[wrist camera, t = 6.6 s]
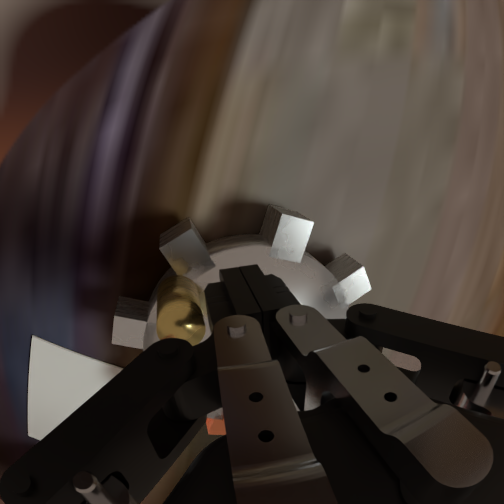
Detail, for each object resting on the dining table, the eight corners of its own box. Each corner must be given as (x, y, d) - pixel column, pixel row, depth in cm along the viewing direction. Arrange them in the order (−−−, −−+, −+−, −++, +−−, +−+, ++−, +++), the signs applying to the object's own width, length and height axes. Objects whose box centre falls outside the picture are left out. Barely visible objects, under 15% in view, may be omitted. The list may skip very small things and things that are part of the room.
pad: (198, 388, 19) (198, 389, 19) (153, 470, 22) (154, 471, 22) (32, 335, 15) (32, 335, 15) (28, 434, 18) (28, 435, 18)
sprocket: (249, 144, 14) (286, 148, 10) (388, 308, 20) (433, 347, 16) (71, 338, 15) (51, 399, 11) (241, 435, 21) (258, 487, 17)
